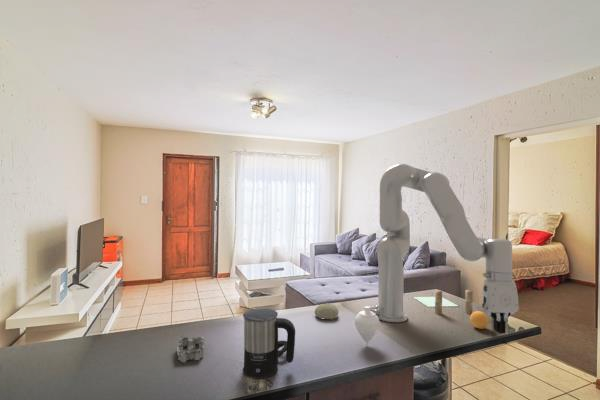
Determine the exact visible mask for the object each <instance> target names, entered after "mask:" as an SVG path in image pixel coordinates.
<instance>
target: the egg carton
mask: <svg viewBox="0 0 600 400" xmlns="http://www.w3.org/2000/svg"><path fill="white" fill-rule="evenodd" d="M205 343H206V337H205V336H198V337H194V336H193V337H192V339H189V337H188V336H183V335H182V334H180V335H179V340H178V344H177V349H176V350H177V351H176V352H177V356H178V359H177V360H180V361H179V362H182V363H187V362H188V361H189V359H190V360H193V359H194V361H195V360H198V361H200V360H201V359H203V358H204V348H205ZM195 344H199V345H198V349H196V345H195ZM186 345H187V346H186ZM183 346H186V347H187V348H186V351H185V352H184V347H183ZM202 357H203V358H202ZM200 358H201V359H200ZM187 360H188V361H187ZM186 361H187V362H186Z"/></svg>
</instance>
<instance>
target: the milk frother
mask: <svg viewBox="0 0 600 400" xmlns="http://www.w3.org/2000/svg"><path fill="white" fill-rule="evenodd" d="M278 315H279V313H278V311H276V310H274V309H270V308H255V309H251V310H248V311H246V312H244V313H243V314H242V317H243V323H244V324H243V325H244V327H243V328H244V331H243V336H244V337H243V339H244V340H243V341H244V342H243V345H244V347H243V349H244V350H243V355H244V356H243V367H242V372H243V374H244V375H245V376H246V377H248V378H251V379H256V380H257V379H259V380H260V379H266V378H270V377H272V376H274V375H275V374H277V371H278V367H279V366H278V364H279V358H280V357H281V356H283V354H284V353H285V354H286V355H285V361H286V362H287V363H292V362H293V361H294V358H295V345H296V329H295V328H296V327H295V325H294V323H293V322H292V321H291V320H289V319H288V318H285V317H284V318H283V317H278ZM279 329H284V330H285V331H286V334H287V335H286V340H279ZM280 348H281V349H280Z"/></svg>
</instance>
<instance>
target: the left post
mask: <svg viewBox="0 0 600 400" xmlns="http://www.w3.org/2000/svg"><path fill="white" fill-rule="evenodd" d="M434 295H435V296H434V297H435V307H434V313H435V314H436V315H442V314H443V307H442V297H443V291H442V290H440V289H439V290H435V291H434Z"/></svg>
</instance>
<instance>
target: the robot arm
mask: <svg viewBox="0 0 600 400" xmlns="http://www.w3.org/2000/svg"><path fill="white" fill-rule="evenodd" d="M403 187H404V188H405V187H406V188H408V189H412V190H415V191H418V192H423V193H425V195H426V197H427V198H428V200H429V202H430V203H431V205H432V207H433V208H434V210H435V212H436V214H437V215H438V217H439V220H440V222H441V224H442V226H443V227H444V230H445V232H446V234H447V236H448V239H449V240H450V241H451V243H452V245H453V247H454V248H455V250H456V252H457V253H458V255H459V256H460V257H461V258H463V260H466V261H468V262H476V261H479V260H480V259H482V258H485V272H483V273H482V276H483V278H485V279H484V280H483V283H482V284H483V285H482V289H481V292H482V293H481V307H482V308H483V309H482V312H483V313H484V314H486V315H487V316H490V317H491V318H492V319H493V330H494V331H495V332H496V333H498V334H500V335H501V334H506V329H507V327H506V322H507V321H508V319H509V317H510V316H512V315H514V314H516V312H518V311H519V309H520V308H519V307H520V306H519V303H520V302H519V295H518V294H519V293H518V289H517V284H516V281H515V280H513V244H512V241H510V240H509V239H505V238H485V237H478V236H477V235H476V234H475V232H474V231H473V229H472V228H471V225H470V224H469V221H468V219H467V217H466V212H465V209H464V206H463V204H462V203H461V201H460V200H459V199H458V197H457V195H456V194H455V192H454V190H453V189H452V187H451V185H450V180H449V179H448V177H447V176H446V175H444V174H442V173H440V172H438V171H437V172H436V171H435V172H434V171H433V172H432V171H428V170H424V169H421V168H417V167H414V166H411V165H410V164H406V163H398V164H395V165H393V166H390V167H388V169H386V170H385V172H383V175H382V176H381V179H380V182H379V226H380V228H381V229H382V231H383V232H386V237H383V238H382V239H380V240H379V242H378V244H377V247H376V254H377V255H376V257H377V265H378V267H377V268H378V271H377V272H378V273H377V274H378V275H377V277H378V282H377V283H378V284H377V285H378V286H377V287H378V288H377V289H378V290H377V291H378V294H377V295H378V297H377V299H378V300H377V302H378V303H375V305H373V306H370V305H368V306H369V307H370V311H371V312H374V313H375V314H376V315H377V317H378V318H379V321H383V322H387V323H403V322H406V321H407V320H408V314H407V313H406V312H404V284H405V283H404V281H405V279H404V278H405V276H404V275H405V274H404V272H405V271H404V262H403V261H404V260H403V257H406V255H407V254H408V253H409V251H410V248H411V247H410V246H411V225H410V224H411V223H410V218H409V216H408V214H407V212H406V211H405V210H403V196H402V195H403V194H402V188H403Z"/></svg>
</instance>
